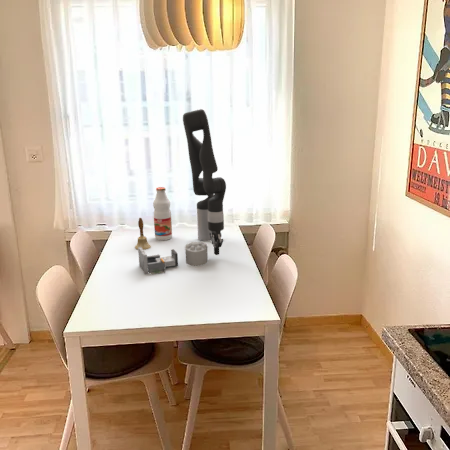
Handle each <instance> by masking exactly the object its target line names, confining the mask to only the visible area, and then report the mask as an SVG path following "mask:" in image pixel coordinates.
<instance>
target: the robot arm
mask: <svg viewBox="0 0 450 450" xmlns="http://www.w3.org/2000/svg"><path fill="white" fill-rule="evenodd" d="M206 113H207V112H206V111H205V110H204V109H202V108H200V109H196V110H192V111H187V112H185V113H183V115H182V123H183V128H184V133H185V136H186V137H185V138H186V142H187V149H188V151H187V152H188V158H189V163H190V168H191V176H192V177H191V178H192V189H193V193H194V195H195V196H207V197H206V198H205V199H202V200H199V201H197V203H196V220H197V221H196V222H197V240H198V241H201V242H203V241H204V242H205V241H206V242H211V245H212V246H213V255H215V256H219V255H220V248H221V247H222V245H223V243H224V238H222V232H221V231H224V229H225V219H224V207H223V206H224V203H223V202H224V200H225V195H226V190H227V184H226V180H225V179H224V178H223V177H219V176H218V177H213V174H215V173H216V172H218V164H217V161H216V158H215V154H214V153H215V152H214V148H213V145H212V144H213V142H212V136H211V130H210V124H209V119H208V116H207V114H206ZM197 131H202V134H203V139H202V141H200V140H199V139H197V137H196V136H195V135H194V132H197ZM201 174H202V177H200V175H201Z"/></svg>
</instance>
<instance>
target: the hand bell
mask: <svg viewBox="0 0 450 450" xmlns="http://www.w3.org/2000/svg"><path fill="white" fill-rule="evenodd" d="M137 225H138V228H139V235H140V236H138V237H137V242H136V245H135V246H134V249H135V250H137V251H138V247H142V249H143V250H144V251H145V250H149V249H151V248H152V245H150V243H149V242H148V239H147V237H146V236H145V235H144V221H143V218H142V217H139V218H138V223H137Z"/></svg>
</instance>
